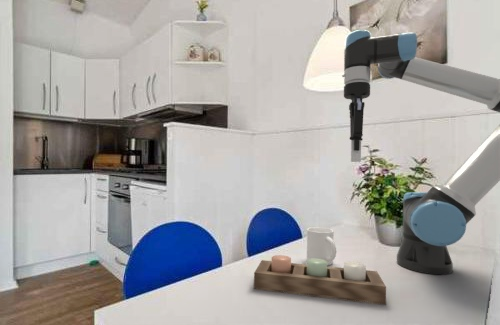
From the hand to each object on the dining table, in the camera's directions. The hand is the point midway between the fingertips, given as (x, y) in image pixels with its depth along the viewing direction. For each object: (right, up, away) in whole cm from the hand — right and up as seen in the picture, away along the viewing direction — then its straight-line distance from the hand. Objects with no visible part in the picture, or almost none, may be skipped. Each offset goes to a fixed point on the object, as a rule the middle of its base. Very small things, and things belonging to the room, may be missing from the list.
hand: (355, 161), depth 87 cm
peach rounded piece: (-24, -29, -13) cm, 40 cm away
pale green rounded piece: (-15, -30, -15) cm, 36 cm away
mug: (-9, -33, +4) cm, 34 cm away
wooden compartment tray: (-15, -32, -15) cm, 38 cm away
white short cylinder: (-6, -30, -17) cm, 35 cm away
